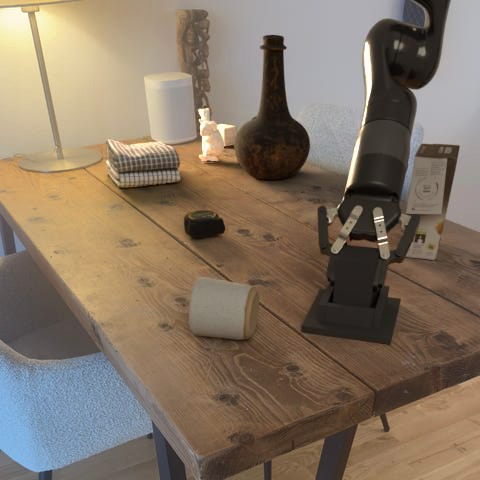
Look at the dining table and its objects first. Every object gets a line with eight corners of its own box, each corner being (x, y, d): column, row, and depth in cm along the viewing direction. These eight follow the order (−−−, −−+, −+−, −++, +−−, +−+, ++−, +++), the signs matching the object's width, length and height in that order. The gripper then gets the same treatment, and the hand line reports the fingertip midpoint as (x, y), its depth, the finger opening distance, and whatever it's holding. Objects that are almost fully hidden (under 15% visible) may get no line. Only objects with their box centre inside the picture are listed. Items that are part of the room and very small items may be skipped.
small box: (238, 144, 161) (237, 125, 158) (224, 148, 158) (223, 128, 155) (223, 141, 164) (223, 122, 161) (210, 145, 161) (209, 126, 158)
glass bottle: (286, 162, 145) (290, 29, 128) (322, 179, 133) (332, 35, 115) (223, 171, 140) (218, 34, 122) (254, 190, 127) (254, 40, 110)
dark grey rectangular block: (373, 303, 80) (381, 248, 75) (367, 319, 76) (375, 262, 71) (338, 298, 81) (343, 244, 76) (331, 314, 78) (336, 258, 73)
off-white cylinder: (249, 351, 73) (249, 296, 68) (189, 345, 75) (185, 290, 70) (265, 314, 81) (266, 263, 77) (210, 309, 83) (208, 259, 78)
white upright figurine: (192, 158, 150) (189, 107, 142) (216, 155, 152) (214, 105, 144) (203, 166, 144) (201, 113, 136) (228, 163, 146) (226, 110, 138)
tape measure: (190, 244, 103) (188, 223, 100) (180, 231, 108) (179, 211, 105) (225, 238, 104) (225, 218, 102) (215, 226, 110) (214, 206, 107)
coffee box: (436, 261, 95) (457, 158, 85) (397, 257, 96) (414, 155, 86) (440, 241, 101) (460, 144, 91) (404, 238, 103) (420, 142, 93)
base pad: (399, 304, 83) (403, 282, 80) (390, 345, 74) (394, 321, 72) (319, 294, 86) (321, 272, 84) (301, 332, 77) (302, 308, 75)
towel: (119, 192, 128) (114, 155, 123) (105, 172, 141) (100, 137, 136) (184, 184, 132) (181, 147, 127) (164, 165, 145) (161, 131, 140)
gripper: (323, 147, 74) (297, 269, 73) (436, 154, 71) (410, 283, 70) (328, 178, 82) (304, 290, 80) (430, 186, 78) (407, 303, 77)
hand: (353, 286), depth 75 cm, fingers closed on dark grey rectangular block, 5 cm apart
